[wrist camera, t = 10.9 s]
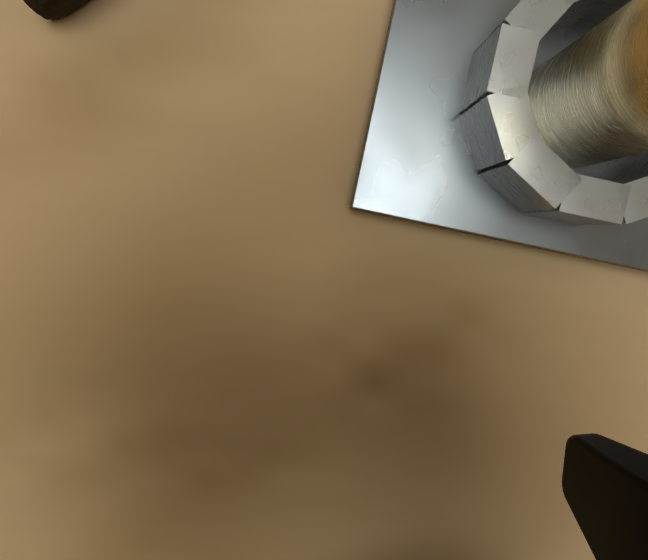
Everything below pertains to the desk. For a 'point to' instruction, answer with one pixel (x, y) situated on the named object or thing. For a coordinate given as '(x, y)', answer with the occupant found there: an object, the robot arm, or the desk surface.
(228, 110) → the desk surface
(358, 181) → the plate with ring collar
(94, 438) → the desk surface
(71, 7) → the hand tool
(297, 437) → the desk surface
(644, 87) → the brass hinge pin
